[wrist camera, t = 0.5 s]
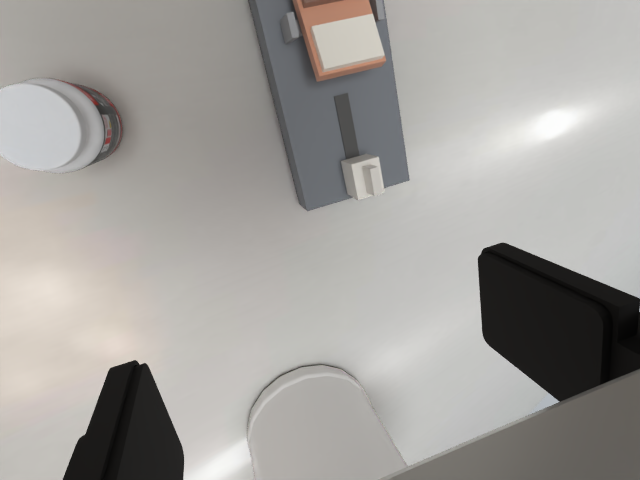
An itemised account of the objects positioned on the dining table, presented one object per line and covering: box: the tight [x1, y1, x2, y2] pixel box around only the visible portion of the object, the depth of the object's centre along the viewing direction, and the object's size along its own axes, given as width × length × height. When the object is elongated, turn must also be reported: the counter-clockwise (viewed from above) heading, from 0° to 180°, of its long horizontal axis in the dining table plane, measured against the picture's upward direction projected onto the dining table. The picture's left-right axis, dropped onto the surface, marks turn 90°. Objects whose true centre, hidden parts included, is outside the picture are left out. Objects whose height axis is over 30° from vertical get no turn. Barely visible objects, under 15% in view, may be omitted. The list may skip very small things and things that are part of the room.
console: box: [248, 0, 409, 211], centre depth 31 cm, size 26×10×6 cm, turn 13°
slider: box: [341, 154, 385, 200], centre depth 33 cm, size 3×2×4 cm
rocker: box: [292, 0, 386, 82], centre depth 28 cm, size 8×5×2 cm, turn 13°
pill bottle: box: [0, 78, 122, 173], centre depth 26 cm, size 6×6×10 cm
